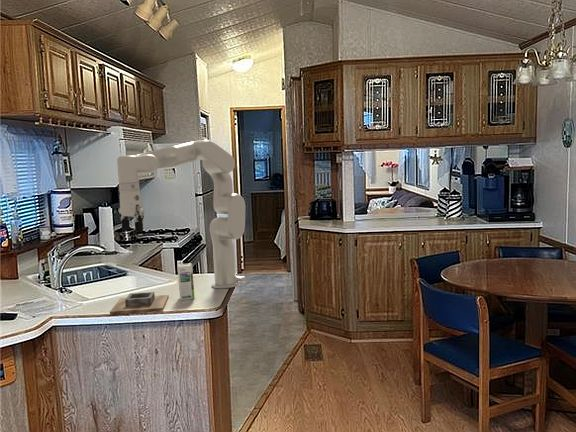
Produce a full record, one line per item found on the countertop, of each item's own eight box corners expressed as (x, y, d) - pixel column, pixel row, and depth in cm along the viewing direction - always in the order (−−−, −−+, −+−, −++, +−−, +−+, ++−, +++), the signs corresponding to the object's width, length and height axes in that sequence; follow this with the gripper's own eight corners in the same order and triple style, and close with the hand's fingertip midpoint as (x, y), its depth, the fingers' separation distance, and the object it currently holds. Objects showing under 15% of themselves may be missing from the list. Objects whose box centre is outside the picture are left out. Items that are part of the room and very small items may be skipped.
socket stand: (168, 297, 223) (168, 288, 223) (162, 310, 203) (162, 300, 203) (120, 301, 221) (119, 291, 220) (110, 314, 201) (109, 304, 201)
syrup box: (180, 300, 217) (178, 266, 216) (179, 297, 223) (177, 263, 221) (194, 299, 219) (192, 265, 217) (193, 295, 224) (191, 262, 223)
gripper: (150, 186, 200) (153, 231, 202) (126, 186, 211) (129, 228, 213) (132, 188, 194) (135, 233, 196) (109, 188, 206) (112, 231, 208)
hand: (132, 231), depth 205 cm, fingers open, 9 cm apart
